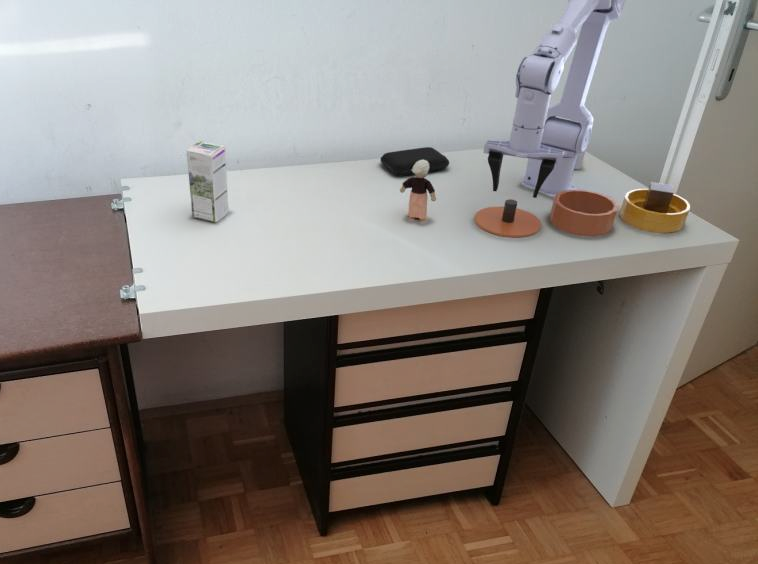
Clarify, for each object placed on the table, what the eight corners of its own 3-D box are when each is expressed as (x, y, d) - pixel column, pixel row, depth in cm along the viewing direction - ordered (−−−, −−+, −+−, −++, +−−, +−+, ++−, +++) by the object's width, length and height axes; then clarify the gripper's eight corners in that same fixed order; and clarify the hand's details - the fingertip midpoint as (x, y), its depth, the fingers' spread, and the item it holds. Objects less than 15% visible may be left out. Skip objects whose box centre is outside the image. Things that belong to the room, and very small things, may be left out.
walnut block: (640, 221, 148) (650, 189, 144) (640, 213, 151) (650, 181, 147) (662, 225, 147) (673, 193, 143) (662, 216, 150) (673, 185, 146)
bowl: (607, 218, 150) (613, 198, 148) (639, 203, 156) (645, 183, 154) (662, 241, 143) (670, 220, 140) (694, 223, 149) (701, 203, 146)
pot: (537, 222, 149) (542, 199, 146) (571, 206, 155) (577, 184, 152) (588, 244, 141) (595, 221, 138) (623, 227, 147) (629, 204, 144)
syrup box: (229, 212, 151) (226, 144, 142) (215, 224, 146) (211, 154, 138) (206, 207, 153) (201, 139, 144) (191, 218, 148) (185, 149, 140)
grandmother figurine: (435, 218, 149) (443, 159, 142) (432, 226, 146) (439, 166, 139) (398, 213, 151) (404, 154, 144) (394, 220, 148) (400, 161, 141)
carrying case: (429, 154, 178) (374, 162, 173) (430, 142, 176) (375, 149, 172) (451, 170, 170) (395, 179, 165) (453, 158, 168) (396, 166, 164)
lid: (460, 222, 148) (464, 199, 145) (501, 205, 155) (505, 183, 152) (512, 246, 140) (517, 222, 137) (553, 227, 147) (558, 204, 144)
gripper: (485, 125, 134) (474, 194, 142) (567, 136, 130) (551, 206, 138) (492, 114, 140) (480, 181, 148) (570, 124, 136) (554, 192, 143)
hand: (515, 192), depth 143 cm, fingers open, 7 cm apart
